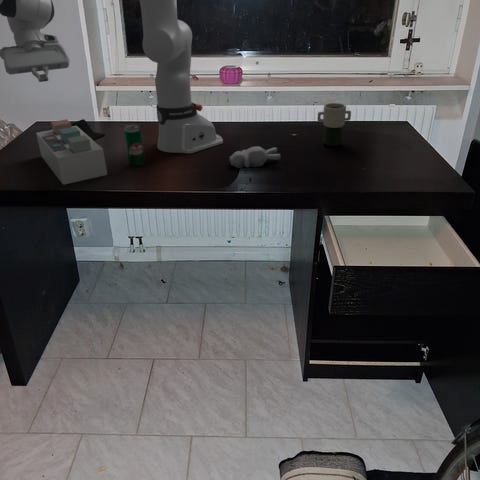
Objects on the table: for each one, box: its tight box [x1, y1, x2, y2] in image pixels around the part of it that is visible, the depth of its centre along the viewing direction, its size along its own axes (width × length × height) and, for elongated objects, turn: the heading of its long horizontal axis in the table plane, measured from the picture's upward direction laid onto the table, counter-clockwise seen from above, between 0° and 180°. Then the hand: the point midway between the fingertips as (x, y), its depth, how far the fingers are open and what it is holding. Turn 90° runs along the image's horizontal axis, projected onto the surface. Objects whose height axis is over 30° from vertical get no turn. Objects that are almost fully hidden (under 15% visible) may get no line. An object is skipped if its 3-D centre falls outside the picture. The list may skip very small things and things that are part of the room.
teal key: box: [59, 127, 81, 144], centre depth 151 cm, size 5×5×4 cm
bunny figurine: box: [229, 146, 282, 169], centre depth 150 cm, size 10×5×15 cm
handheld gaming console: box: [71, 118, 106, 142], centre depth 176 cm, size 12×7×10 cm
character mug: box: [317, 102, 352, 147], centre depth 162 cm, size 11×7×13 cm, turn 94°
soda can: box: [123, 124, 146, 168], centre depth 151 cm, size 5×5×12 cm
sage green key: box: [67, 135, 91, 154], centre depth 143 cm, size 5×5×4 cm
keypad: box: [35, 126, 108, 185], centre depth 152 cm, size 13×28×8 cm, turn 31°
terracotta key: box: [50, 119, 72, 136], centre depth 158 cm, size 5×5×4 cm
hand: (43, 80), depth 161 cm, fingers closed
